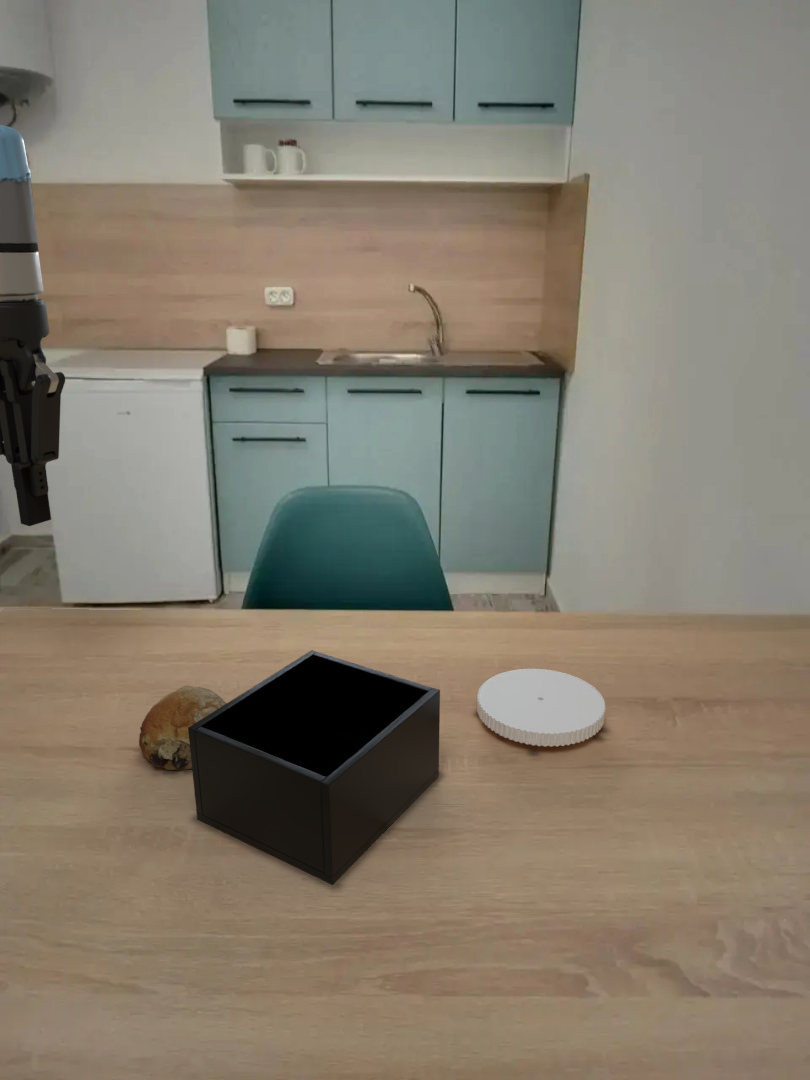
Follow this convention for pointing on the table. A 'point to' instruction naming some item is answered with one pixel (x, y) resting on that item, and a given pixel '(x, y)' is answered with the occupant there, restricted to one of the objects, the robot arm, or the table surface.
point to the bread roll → (175, 726)
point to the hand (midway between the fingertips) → (36, 521)
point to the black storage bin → (316, 761)
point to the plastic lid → (541, 707)
